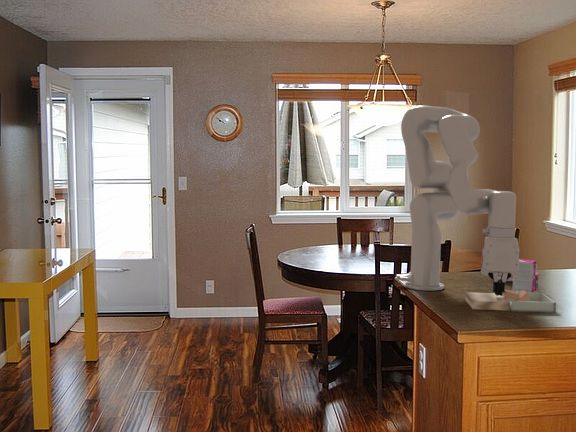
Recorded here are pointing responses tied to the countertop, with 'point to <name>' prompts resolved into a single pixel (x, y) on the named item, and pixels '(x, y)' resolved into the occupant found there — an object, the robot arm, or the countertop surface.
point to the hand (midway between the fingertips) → (498, 294)
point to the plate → (487, 301)
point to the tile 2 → (523, 296)
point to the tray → (534, 304)
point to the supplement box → (525, 276)
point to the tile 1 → (510, 294)
